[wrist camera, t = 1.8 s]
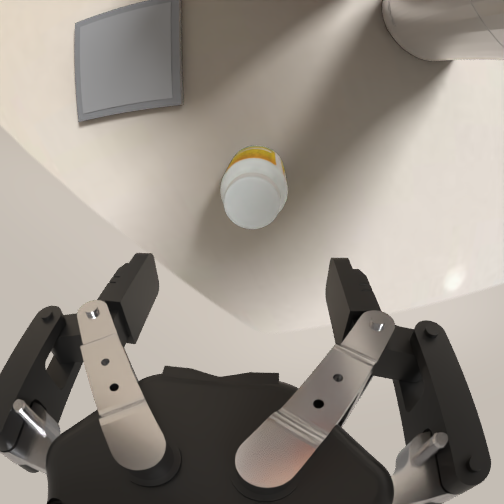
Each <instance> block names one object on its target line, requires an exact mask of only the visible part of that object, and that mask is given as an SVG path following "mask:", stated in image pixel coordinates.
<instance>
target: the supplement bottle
mask: <svg viewBox="0 0 504 504" xmlns="http://www.w3.org/2000/svg"><path fill="white" fill-rule="evenodd" d="M220 193H221V199H222V201H223V204H224V209H225V212H226V214H227V216H228V217H229V219H230V220H231V221H232V222H233V223H235V224H236V225H238V226H240V227H242V228H246V229H259V228H263V227H265V226H267V225H269V224H270V223H271V222H272V221H273V220H274V219H275V218H276V216H277V215H278V213H279V212H280V211H281V209H282V208H283V207H284V205H285V202H286V200H287V195H288V186H287V180H286V175H285V169H284V165H283V162H282V160H281V158H280V157H279V155H278V154H277V153H276V152H274V151H273V150H272V149H270V148H268V147H265V146H259V145H253V146H248V147H245V148H243V149H242V150H240V151H239V152H238V153H237V154H236V155H235V156H234V158H233V159H232V161H231V163H230V165H229V167H228V169H227V170H226V172H225V174H224V176H223V178H222V182H221V187H220Z"/></svg>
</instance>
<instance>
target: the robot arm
mask: <svg viewBox="0 0 504 504" xmlns="http://www.w3.org/2000/svg"><path fill="white" fill-rule="evenodd" d="M382 13H383V19H384V22H385V24H386V27H387V29H388V30H389V32H390V34H391V36H392V37H393V38H394V39H395V41H396V42H397V43H398V44H399V45H400V46H401V47H402V48H403V49H404V50H406V51H407V52H409V53H410V54H411V55H413V56H415V57H417V58H420V59H423V60H427V61H443V60H472V59H488V60H504V0H383V3H382ZM158 291H159V280H158V275H157V271H156V266H155V261H154V257H153V255H152V254H151V253H136V254H135V255H134V257H133V258H132V260H131V261H130V262H129V263H126V264H124V265H123V266H122V267H120V268H119V269H118V270H117V272H116V273H115V274H114V276H113V277H112V279H111V280H110V283H108V284H107V286H106V287H105V289H104V290H103V292H102V293H101V295H100V297H99V298H98V299H97V300H93V301H89V302H87V303H85V304H84V305H83V306H81V307H80V309H79V310H78V312H77V314H69V315H63V314H62V312H61V309H60V308H59V307H57V306H49V307H46V308H44V309H42V310H41V311H40V312H38V314H37V315H36V316H35V318H34V319H33V321H32V322H31V324H30V325H29V327H28V328H27V330H26V331H25V333H24V335H23V336H22V338H21V339H20V341H19V343H18V344H17V346H16V348H15V349H14V351H13V353H12V354H11V356H10V358H9V360H8V361H7V363H6V365H5V366H4V368H3V370H2V372H1V374H0V453H2V454H3V455H4V456H5V457H7V458H8V459H10V460H11V461H12V462H14V463H16V464H18V465H19V466H21V467H22V468H24V469H25V470H27V471H28V472H32V473H36V472H39V471H41V472H43V473H45V474H47V478H48V501H47V504H442V503H444V502H446V501H448V500H450V499H452V498H454V497H456V496H458V495H460V494H462V493H463V492H465V491H467V490H469V489H471V488H473V487H474V486H476V485H478V484H479V483H481V482H482V481H484V479H485V478H486V477H487V476H488V474H489V471H490V468H491V459H490V455H489V451H488V447H487V443H486V440H485V436H484V433H483V429H482V426H481V423H480V419H479V417H478V413H477V410H476V407H475V404H474V402H473V399H472V396H471V393H470V390H469V388H468V385H467V382H466V380H465V377H464V375H463V372H462V370H461V367H460V365H459V362H458V360H457V357H456V355H455V353H454V351H453V348H452V346H451V344H450V342H449V339H448V337H447V335H446V333H445V331H444V329H443V328H442V327H441V326H439V325H438V324H437V323H435V322H432V321H421V322H419V323H418V324H417V325H416V326H415V329H409V328H404V327H399V326H396V325H395V323H394V320H393V319H392V318H391V317H390V316H389V315H388V314H386V313H384V312H382V311H381V309H380V307H379V304H378V302H377V300H376V297H375V295H374V293H373V291H372V288H371V286H370V285H369V281H368V279H367V277H366V275H365V274H363V273H362V272H361V271H360V270H359V269H352V266H351V264H350V261H349V259H348V258H331V260H330V265H329V271H328V277H327V283H326V302H327V306H328V311H329V315H330V320H331V324H332V329H333V333H334V338H335V343H336V344H335V345H334V347H333V348H332V349H331V350H330V351H329V353H328V354H327V356H326V357H325V358H324V359H323V360H322V361H321V363H320V364H319V365H318V366H317V368H316V369H315V370H314V371H313V372H312V374H311V375H310V376H309V377H308V378H307V380H306V381H305V382H304V383H303V384H302V385H301V387H300V388H299V389H298V388H297V387H294V386H292V385H290V384H287V383H284V382H280V381H279V373H252V372H249V373H244V374H237V375H230V376H224V377H217V376H214V375H210V374H207V373H203V372H201V371H197V370H194V369H190V368H180V367H171V366H165V367H164V370H163V373H162V374H157V375H153V376H149V377H146V378H144V379H142V380H140V381H138V379H137V377H136V375H135V372H134V370H133V368H132V365H131V363H130V361H129V359H128V356H127V354H126V352H125V350H124V346H125V344H126V343H131V344H136V341H137V339H138V337H139V334H140V332H141V330H142V328H143V326H144V323H145V321H146V318H147V317H148V314H149V312H150V310H151V308H152V305H153V303H154V301H155V299H156V297H157V295H158ZM51 351H52V353H53V354H54V356H53V358H52V360H51V362H50V364H49V366H48V368H47V370H46V369H45V361H46V359H47V357H48V355H49V353H50V352H51ZM83 362H84V365H85V369H86V372H87V376H88V379H89V383H90V387H91V390H92V393H93V397H94V400H95V403H96V406H97V410H96V411H95V412H93V413H92V414H91V415H89V416H87V417H86V418H85V419H83V420H81V421H80V422H78V423H77V424H75V425H74V426H72V427H71V428H69V429H68V430H66V431H65V432H63V433H62V434H60V427H59V425H58V423H59V420H60V417H61V415H62V412H63V409H64V406H65V404H66V401H67V399H68V397H69V394H70V392H71V389H72V387H73V384H74V382H75V379H76V377H77V375H78V372H79V370H80V368H81V365H82V363H83ZM373 376H379V377H384V378H389V379H393V383H394V387H395V392H396V396H397V401H398V406H399V411H400V415H401V420H402V426H403V431H404V437H405V443H406V447H405V448H403V449H402V450H401V452H400V453H399V454H398V456H397V459H396V468H395V472H394V474H393V476H390V474H389V472H388V471H387V470H386V468H385V467H384V466H383V465H382V464H381V463H380V462H378V461H377V460H376V459H375V458H374V457H373V456H372V455H371V454H369V453H368V452H367V451H366V450H365V449H364V448H363V447H362V446H361V445H360V444H358V443H357V442H356V441H355V440H354V439H353V438H352V437H351V436H350V435H349V434H348V433H347V432H346V431H345V430H344V429H342V426H343V425H344V423H345V422H346V420H347V419H348V417H349V415H350V414H351V412H352V410H353V409H354V407H355V405H356V404H357V402H358V401H359V399H360V397H361V396H362V394H363V392H364V391H365V389H366V387H367V386H368V384H369V382H370V381H371V379H372V377H373Z"/></svg>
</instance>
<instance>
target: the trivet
mask: <svg viewBox="0 0 504 504" xmlns="http://www.w3.org/2000/svg"><path fill="white" fill-rule="evenodd" d="M75 82H76V98H77V110H78V120H79V122H81V121H85V120H89V119H94V118H99V117H103V116H109V115H114V114H119V113H125V112H131V111H137V110H144V109H151V108H158V107H167V106H176V105H184V104H183V81H182V44H181V0H148V1H144V2H140V3H136V4H132V5H128V6H124V7H121V8H118V9H114V10H111V11H108V12H105V13H102V14H99V15H96V16H93V17H90V18H87V19H85V20H82V21H80V22H77V23H75Z"/></svg>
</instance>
